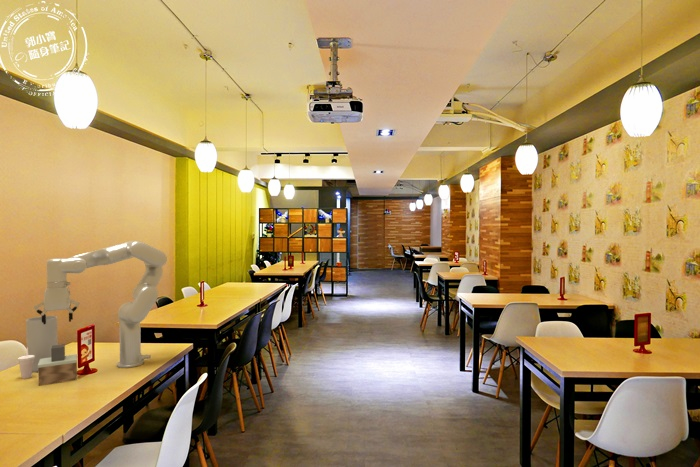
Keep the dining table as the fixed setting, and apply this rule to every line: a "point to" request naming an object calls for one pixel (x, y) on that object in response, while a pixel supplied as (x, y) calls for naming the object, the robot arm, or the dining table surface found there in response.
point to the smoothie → (26, 365)
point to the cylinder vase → (41, 338)
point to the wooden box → (57, 373)
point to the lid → (57, 357)
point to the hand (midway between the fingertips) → (57, 322)
